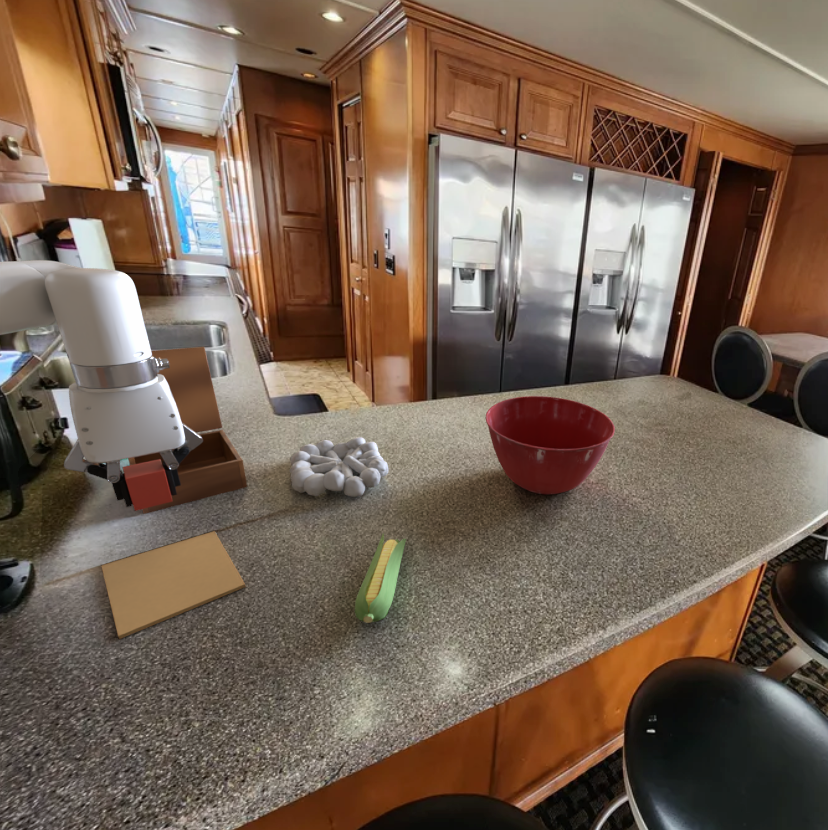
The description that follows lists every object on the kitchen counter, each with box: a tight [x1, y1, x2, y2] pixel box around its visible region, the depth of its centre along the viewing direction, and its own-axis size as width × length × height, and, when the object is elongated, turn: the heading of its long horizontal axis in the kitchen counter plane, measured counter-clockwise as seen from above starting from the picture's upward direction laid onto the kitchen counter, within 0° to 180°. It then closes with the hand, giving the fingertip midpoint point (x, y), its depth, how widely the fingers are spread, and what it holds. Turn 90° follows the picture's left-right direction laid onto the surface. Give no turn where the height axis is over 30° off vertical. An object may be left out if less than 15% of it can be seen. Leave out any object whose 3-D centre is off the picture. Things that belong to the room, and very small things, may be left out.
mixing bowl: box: [485, 395, 616, 495], centre depth 103 cm, size 28×28×16 cm
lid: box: [151, 346, 223, 433], centre depth 91 cm, size 17×16×1 cm
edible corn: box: [354, 533, 407, 624], centre depth 71 cm, size 5×20×5 cm, turn 7°
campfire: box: [289, 436, 389, 498], centre depth 97 cm, size 22×21×6 cm
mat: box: [100, 530, 247, 640], centre depth 69 cm, size 20×14×1 cm
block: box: [122, 459, 172, 512], centre depth 63 cm, size 4×4×5 cm
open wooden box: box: [127, 429, 248, 515], centre depth 89 cm, size 17×16×7 cm
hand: (150, 495), depth 64 cm, fingers closed on block, 4 cm apart
